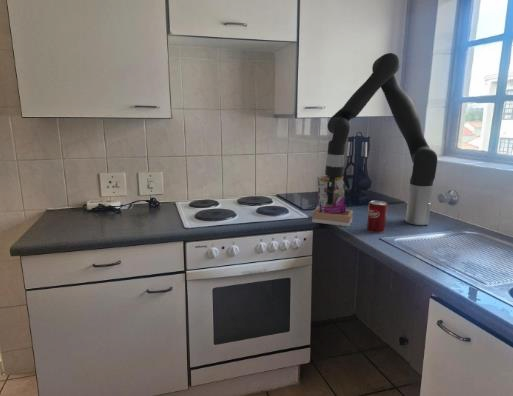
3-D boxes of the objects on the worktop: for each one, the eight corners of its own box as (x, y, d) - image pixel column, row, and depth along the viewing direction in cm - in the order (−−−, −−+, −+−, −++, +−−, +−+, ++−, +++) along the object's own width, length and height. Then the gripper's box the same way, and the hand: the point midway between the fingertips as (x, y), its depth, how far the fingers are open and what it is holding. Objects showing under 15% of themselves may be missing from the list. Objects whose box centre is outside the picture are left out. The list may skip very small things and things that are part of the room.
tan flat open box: (352, 220, 171) (352, 210, 170) (348, 226, 162) (349, 216, 161) (317, 216, 177) (317, 206, 176) (312, 221, 168) (312, 212, 167)
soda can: (372, 234, 153) (375, 205, 150) (363, 228, 160) (365, 200, 157) (388, 232, 155) (391, 204, 152) (378, 227, 162) (380, 200, 159)
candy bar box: (320, 215, 167) (317, 178, 163) (319, 212, 172) (316, 176, 168) (346, 213, 166) (344, 176, 162) (344, 209, 171) (342, 174, 167)
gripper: (329, 161, 172) (325, 198, 176) (322, 166, 159) (319, 205, 163) (346, 163, 169) (342, 200, 173) (340, 167, 156) (337, 207, 160)
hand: (331, 202), depth 168 cm, fingers closed on candy bar box, 6 cm apart
